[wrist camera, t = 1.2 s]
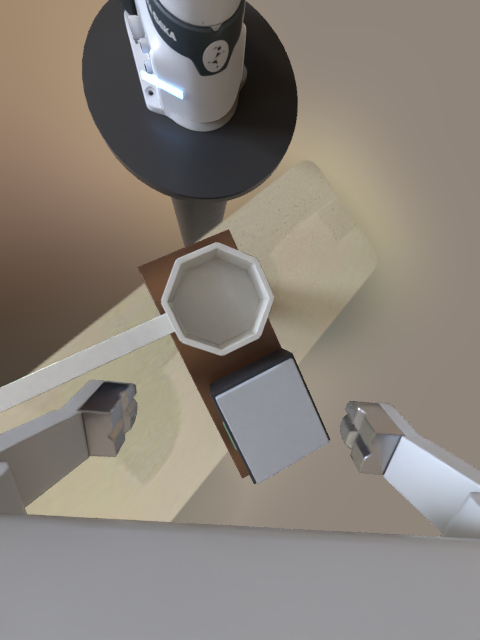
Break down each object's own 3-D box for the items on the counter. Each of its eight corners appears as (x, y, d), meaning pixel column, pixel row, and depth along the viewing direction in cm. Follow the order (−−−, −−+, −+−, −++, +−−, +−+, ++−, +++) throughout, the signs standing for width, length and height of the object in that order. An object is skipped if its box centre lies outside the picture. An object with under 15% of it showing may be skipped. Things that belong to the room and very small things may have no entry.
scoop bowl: (2, 346, 17) (-59, 357, 13) (236, 245, 19) (245, 229, 15) (50, 428, 18) (7, 462, 14) (270, 321, 20) (286, 324, 16)
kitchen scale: (207, 385, 19) (208, 398, 16) (281, 347, 20) (295, 353, 17) (246, 464, 20) (254, 491, 17) (315, 425, 21) (334, 443, 18)
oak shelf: (171, 290, 40) (136, 267, 18) (214, 271, 41) (228, 228, 19) (221, 391, 42) (242, 479, 20) (260, 371, 43) (320, 434, 21)
